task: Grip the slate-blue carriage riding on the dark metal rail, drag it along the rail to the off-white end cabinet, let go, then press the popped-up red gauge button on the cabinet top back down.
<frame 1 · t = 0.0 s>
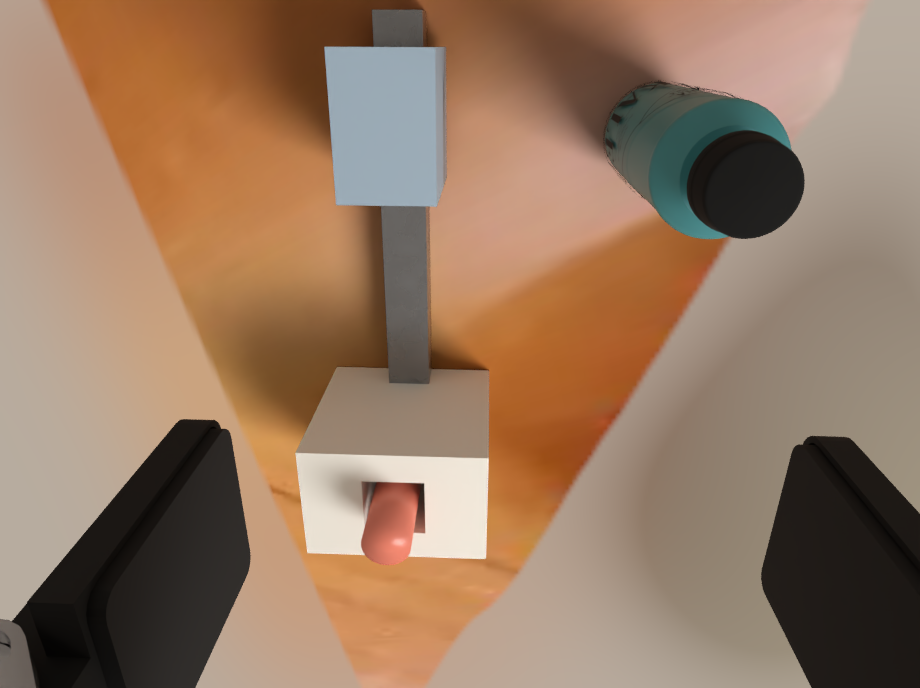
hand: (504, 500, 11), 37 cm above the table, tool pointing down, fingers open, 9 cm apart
beverage bottle: (645, 130, 43), on the table
carriage: (394, 121, 38), point 5 cm above the table, slide at 0.0 cm
gauge button: (393, 507, 42), point 12 cm above the table, slide at 0.0 cm
rail: (408, 210, 46), on the table
cabinet: (413, 412, 53), on the table
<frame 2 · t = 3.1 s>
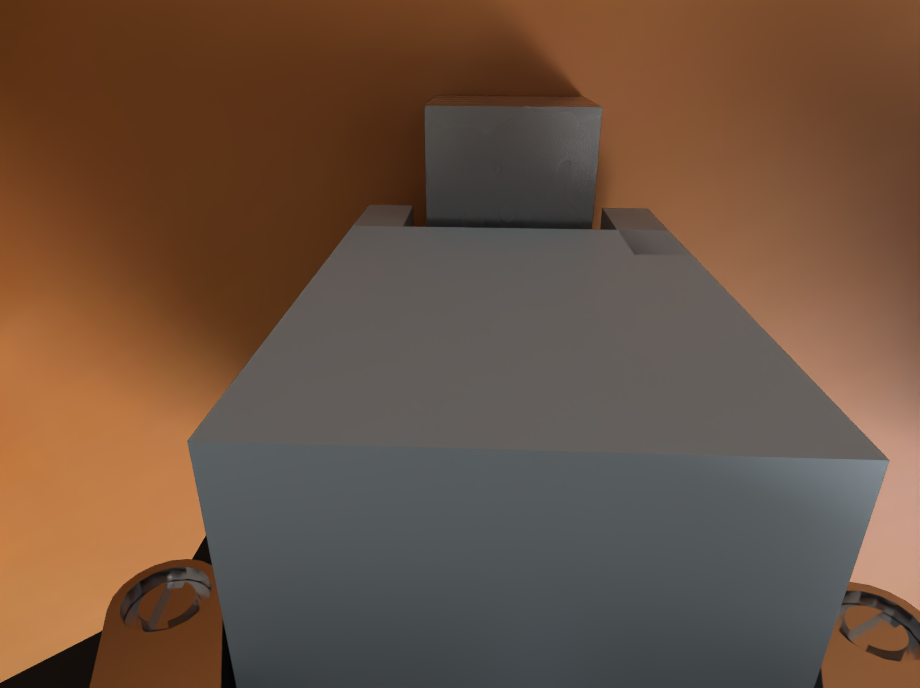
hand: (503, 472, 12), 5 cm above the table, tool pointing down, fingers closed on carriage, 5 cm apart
carriage: (504, 505, 11), point 5 cm above the table, slide at 0.0 cm, touching gripper
rail: (493, 567, 18), on the table
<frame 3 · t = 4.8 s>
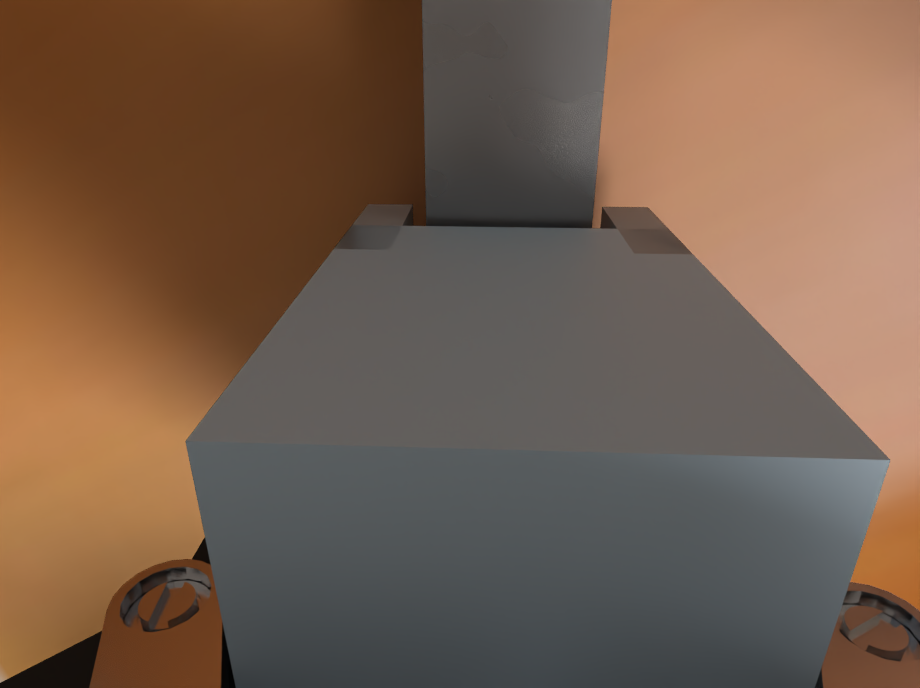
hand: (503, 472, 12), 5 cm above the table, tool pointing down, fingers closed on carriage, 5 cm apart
carriage: (504, 505, 11), point 5 cm above the table, slide at 7.0 cm, touching gripper
rail: (501, 343, 16), on the table
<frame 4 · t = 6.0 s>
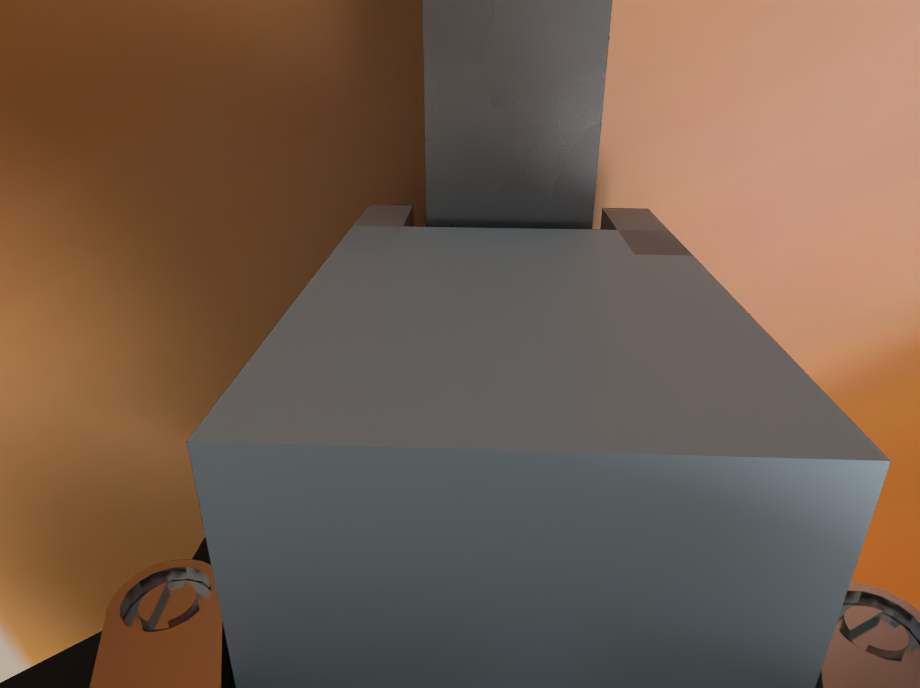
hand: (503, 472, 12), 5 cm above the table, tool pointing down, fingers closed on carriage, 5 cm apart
carriage: (504, 505, 11), point 5 cm above the table, slide at 12.0 cm, touching gripper
rail: (508, 123, 14), on the table
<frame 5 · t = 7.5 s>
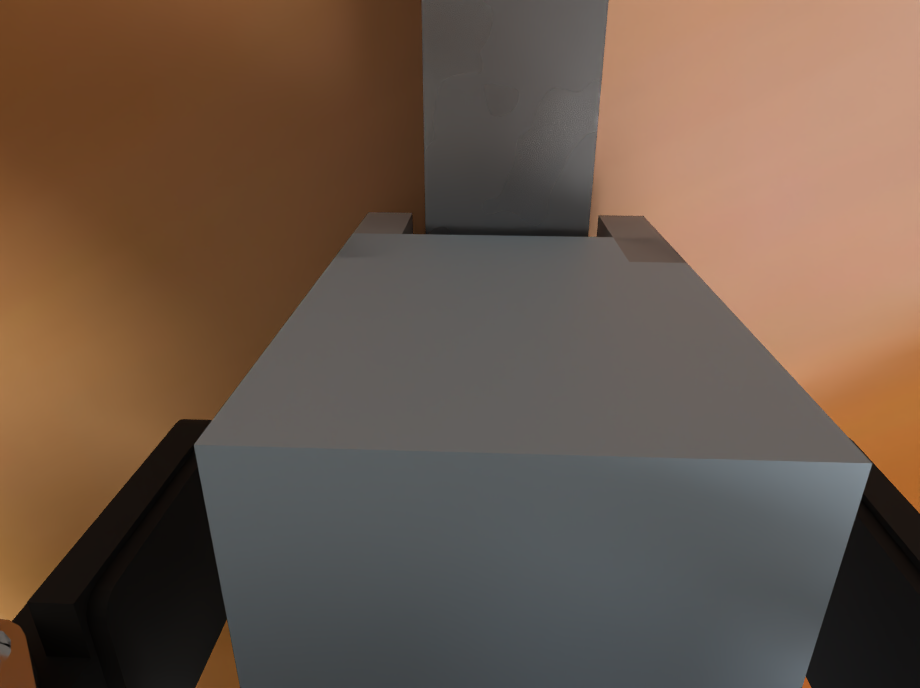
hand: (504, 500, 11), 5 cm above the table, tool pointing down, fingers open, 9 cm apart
carriage: (502, 508, 11), point 5 cm above the table, slide at 12.0 cm
rail: (506, 131, 14), on the table
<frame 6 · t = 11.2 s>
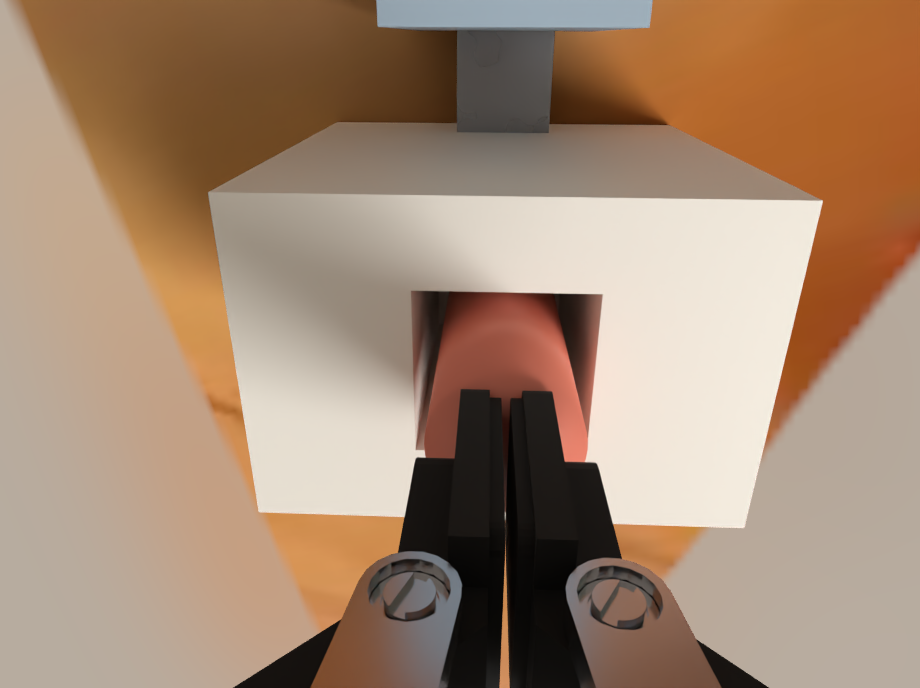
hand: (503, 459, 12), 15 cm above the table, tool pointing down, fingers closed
gauge button: (502, 361, 15), point 11 cm above the table, slide at 0.8 cm, touching gripper
cabinet: (498, 231, 25), on the table
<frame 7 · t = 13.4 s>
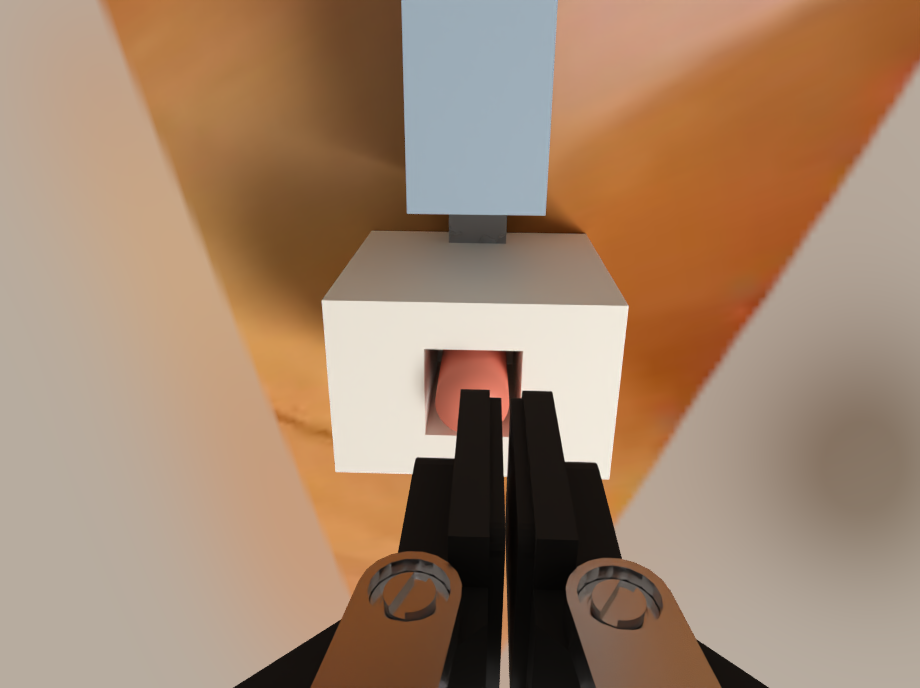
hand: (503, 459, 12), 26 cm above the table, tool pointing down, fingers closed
carriage: (478, 103, 29), point 5 cm above the table, slide at 12.0 cm
gauge button: (473, 366, 30), point 9 cm above the table, slide at 2.7 cm
cabinet: (477, 299, 38), on the table
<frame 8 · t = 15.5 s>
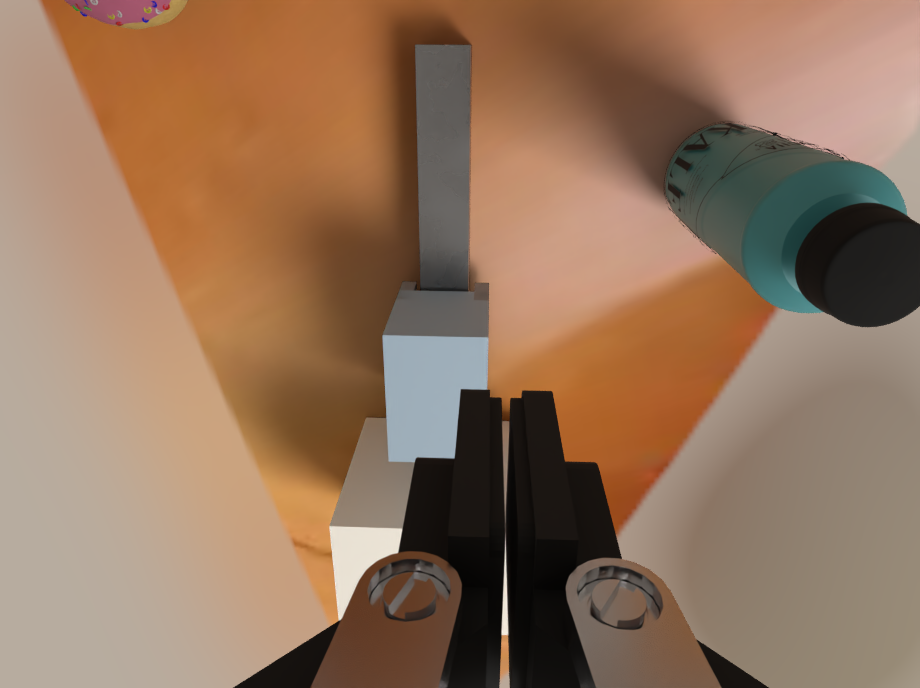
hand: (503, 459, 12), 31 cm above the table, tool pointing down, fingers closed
beverage bottle: (707, 171, 40), on the table
carriage: (441, 367, 40), point 5 cm above the table, slide at 12.0 cm
rail: (446, 254, 43), on the table
cabinet: (447, 464, 50), on the table
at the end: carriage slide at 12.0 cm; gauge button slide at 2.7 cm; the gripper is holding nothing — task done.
